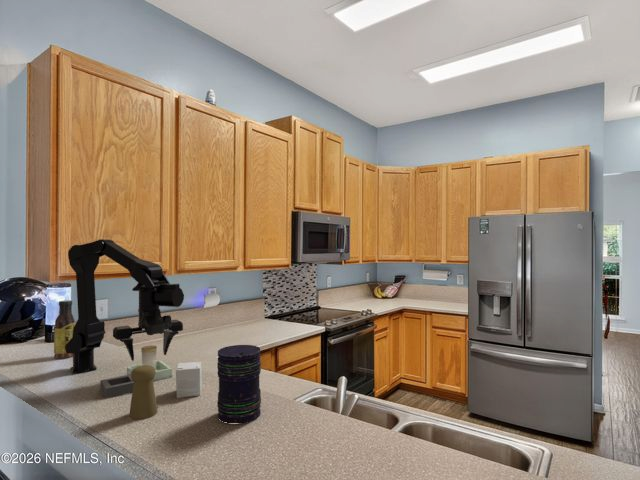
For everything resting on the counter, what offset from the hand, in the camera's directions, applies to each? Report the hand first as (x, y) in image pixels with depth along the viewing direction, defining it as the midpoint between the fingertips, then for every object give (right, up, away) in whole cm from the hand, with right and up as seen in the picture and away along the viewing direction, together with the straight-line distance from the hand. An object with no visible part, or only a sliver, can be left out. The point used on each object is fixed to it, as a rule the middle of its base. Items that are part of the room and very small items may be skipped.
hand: (149, 357), depth 117 cm
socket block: (-3, -5, -11) cm, 13 cm away
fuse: (0, -5, 0) cm, 5 cm away
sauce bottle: (-39, -6, +21) cm, 45 cm away
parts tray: (0, -6, 0) cm, 6 cm away
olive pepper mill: (+10, -5, -26) cm, 29 cm away
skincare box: (+17, -6, -14) cm, 22 cm away
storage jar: (+33, -5, -27) cm, 43 cm away
